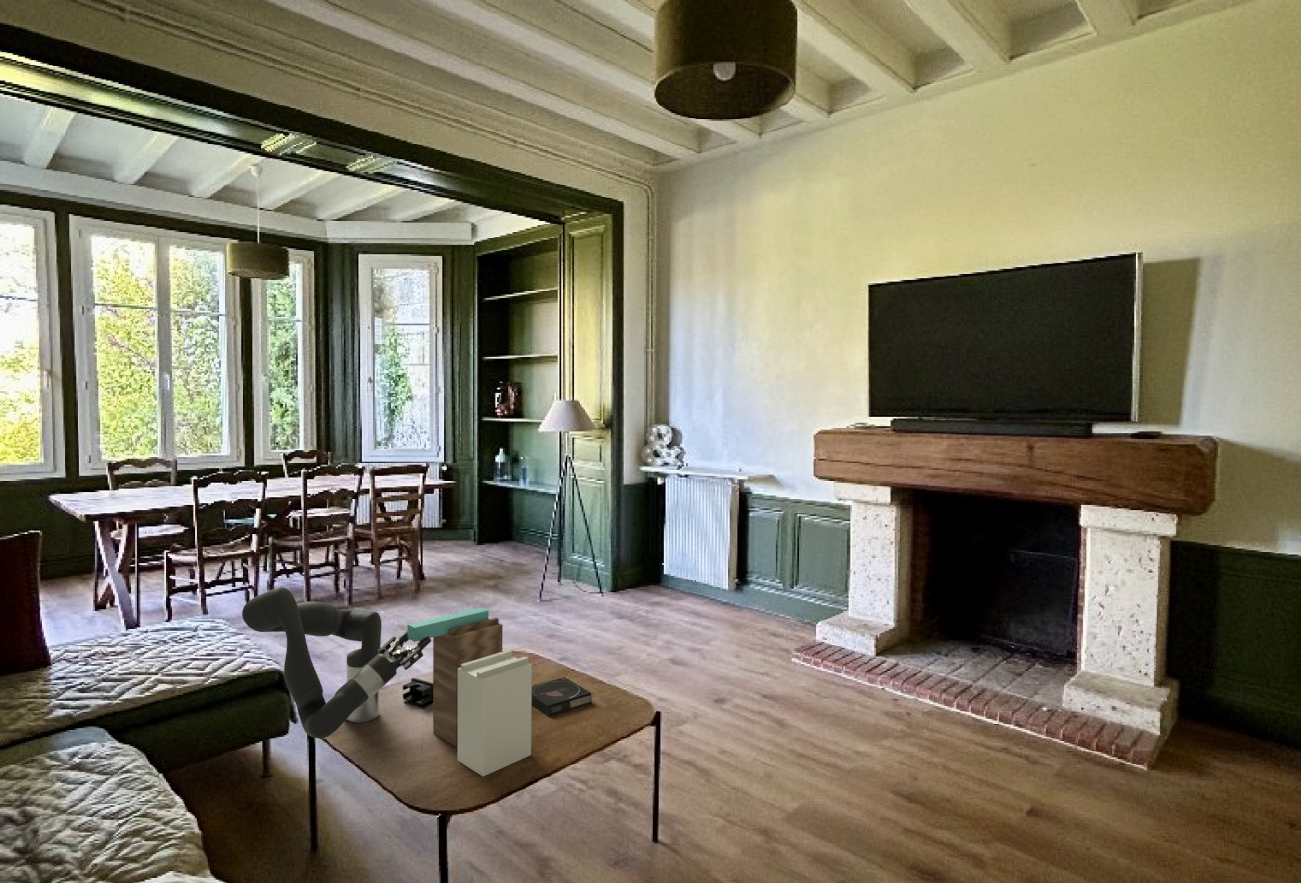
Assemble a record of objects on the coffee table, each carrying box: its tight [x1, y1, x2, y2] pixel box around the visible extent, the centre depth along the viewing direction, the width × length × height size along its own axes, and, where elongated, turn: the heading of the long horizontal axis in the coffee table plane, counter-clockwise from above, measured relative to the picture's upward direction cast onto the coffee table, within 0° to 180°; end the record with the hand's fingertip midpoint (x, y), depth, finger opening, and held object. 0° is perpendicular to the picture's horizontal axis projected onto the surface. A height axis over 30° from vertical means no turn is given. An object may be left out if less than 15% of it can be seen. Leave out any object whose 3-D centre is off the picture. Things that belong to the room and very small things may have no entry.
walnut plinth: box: [432, 616, 504, 748], centre depth 216 cm, size 16×12×34 cm
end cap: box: [402, 677, 433, 710], centre depth 236 cm, size 10×7×7 cm
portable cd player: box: [531, 676, 593, 717], centre depth 239 cm, size 16×17×4 cm
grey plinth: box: [456, 649, 533, 777], centre depth 200 cm, size 16×12×28 cm
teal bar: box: [407, 607, 490, 643], centre depth 210 cm, size 24×4×4 cm, turn 136°
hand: (421, 634), depth 204 cm, fingers open, 8 cm apart
